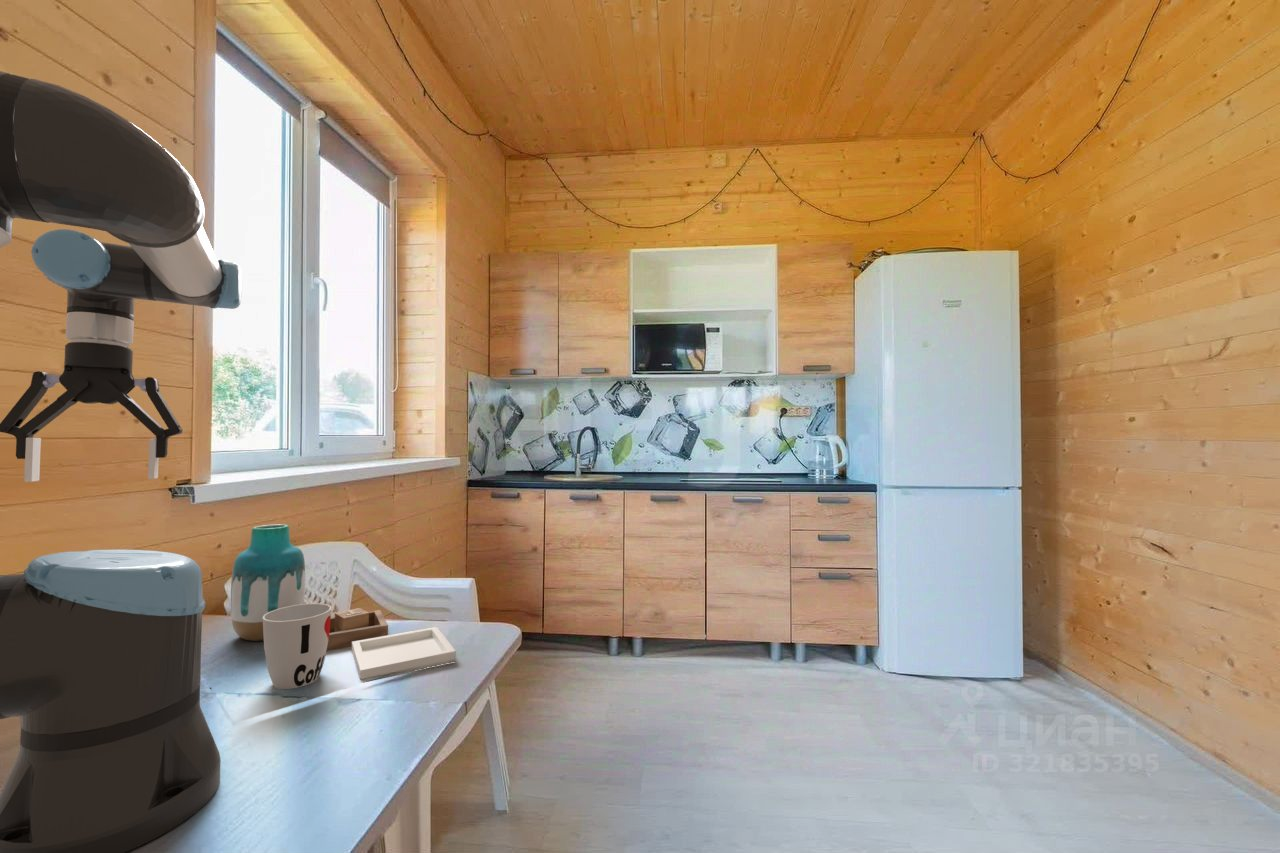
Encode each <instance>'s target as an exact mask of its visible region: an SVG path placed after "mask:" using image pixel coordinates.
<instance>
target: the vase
mask: <svg viewBox="0 0 1280 853" xmlns="http://www.w3.org/2000/svg"><path fill="white" fill-rule="evenodd" d="M250 534H251V535H250V543H249V546H248V547H247V548H246V549H245V550H244V551H242V552H240V553H239V554H238V555H237V556H236V558H235V559H234V562H233V565H232V566H233V567H232V572H231V582H230V583H231V584H230V616H231V625H232V628H233V631H234V632H235V634H236V635H237V636H238V637H240V639H244V640H247V641H250V642H251V641H253V642H258V641H259V642H260V641H261V642H262V641H264V636H263V616H264V615H265V614H267V613H268V612H271V611H273V610H276V609H280V608H284V607H289V606H294V605H301V604H305V599H306V598H305V596H306V564H305V557H304V553H303V551H302V549H300V548H299V547H297V546H295V545H293V544H292V543H291V538H290V537H291V536H290V525H288V524H279V523H278V524H265V525H258V526H253V527H252V528H251V533H250Z"/></svg>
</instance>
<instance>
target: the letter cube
mask: <svg viewBox="0 0 1280 853" xmlns="http://www.w3.org/2000/svg"><path fill="white" fill-rule="evenodd" d="M334 617H335V632H339V631H345V630H351V629H357V628H363V627H369V611H367V610H365V609H363V608H361V607H359V608H357V607H356V608H353V609H348V610H343V611H339V612H335V613H334Z"/></svg>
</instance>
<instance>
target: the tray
mask: <svg viewBox="0 0 1280 853" xmlns="http://www.w3.org/2000/svg"><path fill="white" fill-rule="evenodd" d="M351 652H352V655H353V659H354V663H355V665H356V669H357V672H358V676H359V679H360V680H364V679H368V678H373V677H376V678H373V679H370V680H366V681H363V682H362V684H363V683H369V682H372V681H378V680H382V679H386V678H387V679H388V678H391V677H396V676H401V675H406V674H410V673H409V672H411V673H414V672H413V671H415V670H419V669H424V668H427V667H432V666H437V665H441V664H446V663H451V662H457V659H456V656H457V655H456V654H457V651H456V649H455V648H454V647H453V646H452V644H451V643H450V642H449V641H448V639H447V638H446V637H445V636H444V634H443V633H442V632H441V631H440V629H439V628H438V627H437V626H433V627H428V628H423V629H422V628H421V629H417V630H411V631H405V632H399V633H394V634H393V633H392V634H388V635H387V636H381V637H376V638H370V639H364V640H359V641H353V642H352V647H351ZM405 673H406V674H405ZM378 676H379V677H378Z"/></svg>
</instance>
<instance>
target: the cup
mask: <svg viewBox="0 0 1280 853" xmlns="http://www.w3.org/2000/svg"><path fill="white" fill-rule="evenodd" d="M331 617H332V606H331V605H329V604H327V603H304V604H301V605H294V606H289V607H284V608H280V609H276V610H273V611H271V612H268V613H267V614H265V615H264V616H263V636H264V640H263V649H264V654H265V660H266V665H267V671H268V676H269V677H270V680H271V684H272V685H273V687H274V688H275V689H277V690H289V689H290V690H291V689H297V688H301V687H305V686H308V685H310V684H312V683H314V682H316V681H317V680H318V679H319V678H320V676H321V673H322V669H323V666H324V663H325V660H326V654H327V651H326V650H327V645H328V640H329V631H330V619H331Z"/></svg>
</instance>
